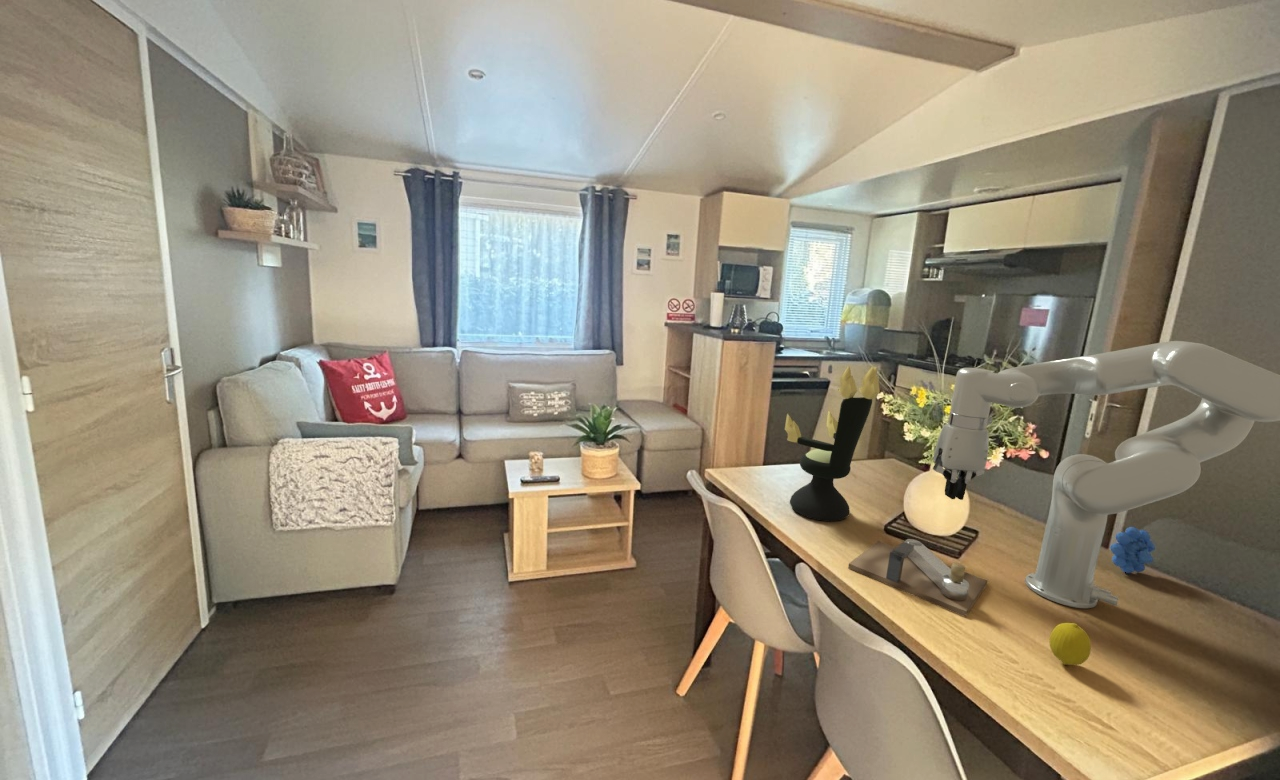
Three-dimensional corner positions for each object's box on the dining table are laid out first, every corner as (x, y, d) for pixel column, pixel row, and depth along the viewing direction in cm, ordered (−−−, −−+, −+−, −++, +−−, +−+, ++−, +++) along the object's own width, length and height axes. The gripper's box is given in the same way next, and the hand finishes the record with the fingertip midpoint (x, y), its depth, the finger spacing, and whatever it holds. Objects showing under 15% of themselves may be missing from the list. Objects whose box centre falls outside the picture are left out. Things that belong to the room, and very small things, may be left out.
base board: (986, 585, 117) (993, 552, 116) (965, 616, 104) (972, 580, 103) (877, 544, 134) (882, 515, 132) (848, 568, 121) (852, 536, 119)
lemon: (1092, 678, 89) (1103, 636, 87) (1056, 671, 90) (1066, 630, 88) (1073, 656, 94) (1082, 617, 93) (1038, 651, 95) (1048, 611, 94)
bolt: (971, 601, 107) (974, 587, 107) (948, 599, 107) (951, 586, 107) (917, 550, 128) (919, 539, 128) (898, 549, 128) (900, 538, 128)
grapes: (1124, 583, 122) (1137, 535, 120) (1096, 568, 128) (1107, 522, 126) (1166, 582, 124) (1179, 535, 121) (1136, 567, 130) (1147, 522, 128)
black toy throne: (817, 495, 166) (836, 355, 157) (879, 523, 147) (904, 366, 138) (774, 504, 156) (791, 355, 148) (834, 535, 137) (858, 367, 129)
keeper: (909, 570, 119) (914, 545, 118) (897, 583, 113) (901, 556, 112) (898, 566, 121) (902, 541, 120) (885, 578, 115) (890, 552, 114)
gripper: (989, 419, 123) (975, 493, 126) (925, 416, 123) (913, 489, 126) (1012, 428, 116) (996, 505, 119) (943, 424, 115) (930, 501, 119)
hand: (953, 496), depth 123 cm, fingers closed
